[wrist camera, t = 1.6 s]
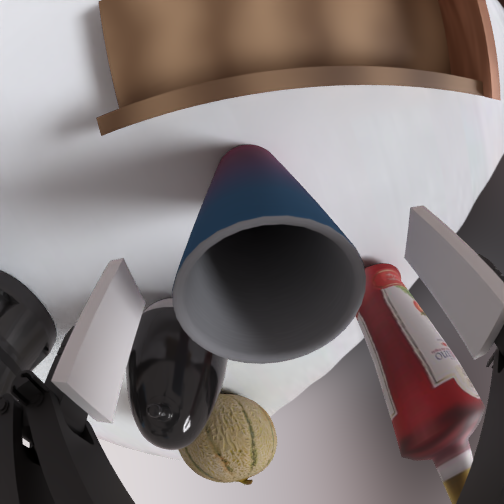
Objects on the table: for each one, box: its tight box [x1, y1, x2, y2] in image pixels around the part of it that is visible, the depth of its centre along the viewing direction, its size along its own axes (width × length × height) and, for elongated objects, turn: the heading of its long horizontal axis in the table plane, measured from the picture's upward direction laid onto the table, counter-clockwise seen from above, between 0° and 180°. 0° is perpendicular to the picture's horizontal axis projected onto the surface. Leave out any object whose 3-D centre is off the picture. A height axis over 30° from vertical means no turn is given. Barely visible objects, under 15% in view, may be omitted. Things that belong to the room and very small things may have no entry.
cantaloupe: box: [179, 394, 277, 485], centre depth 35 cm, size 15×15×15 cm
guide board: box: [96, 0, 500, 136], centre depth 12 cm, size 28×11×7 cm, turn 100°
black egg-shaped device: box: [126, 298, 228, 450], centre depth 24 cm, size 10×10×15 cm
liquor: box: [356, 263, 485, 504], centre depth 18 cm, size 7×7×28 cm
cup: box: [172, 145, 366, 364], centre depth 16 cm, size 7×7×15 cm
